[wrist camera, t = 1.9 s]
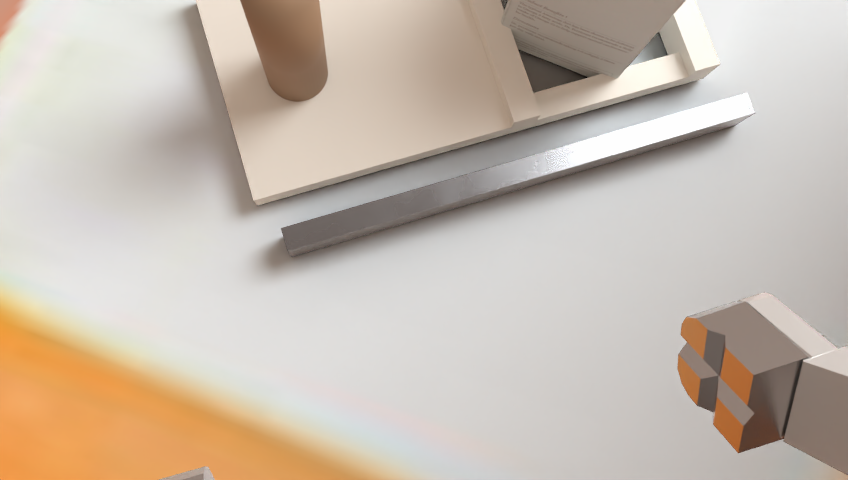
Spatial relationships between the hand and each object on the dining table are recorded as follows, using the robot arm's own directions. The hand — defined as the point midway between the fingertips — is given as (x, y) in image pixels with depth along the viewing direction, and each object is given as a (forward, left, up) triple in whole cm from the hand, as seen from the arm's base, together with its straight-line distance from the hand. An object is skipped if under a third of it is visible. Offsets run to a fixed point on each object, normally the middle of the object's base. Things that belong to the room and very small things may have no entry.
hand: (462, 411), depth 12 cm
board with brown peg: (-9, -17, -25) cm, 31 cm away
